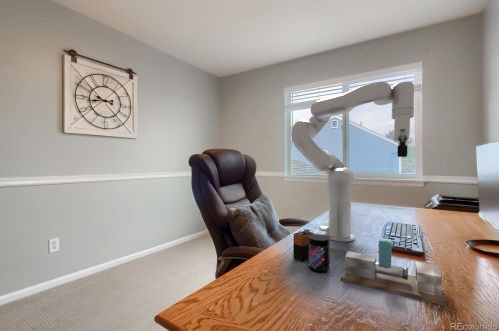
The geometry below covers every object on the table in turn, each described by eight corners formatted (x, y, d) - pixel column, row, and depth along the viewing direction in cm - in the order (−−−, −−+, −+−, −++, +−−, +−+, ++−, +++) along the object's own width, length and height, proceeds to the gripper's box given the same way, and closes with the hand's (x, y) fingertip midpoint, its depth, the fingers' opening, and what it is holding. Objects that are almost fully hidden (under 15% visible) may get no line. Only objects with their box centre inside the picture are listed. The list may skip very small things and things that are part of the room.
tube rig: (340, 280, 71) (340, 259, 71) (347, 265, 81) (348, 247, 81) (445, 305, 59) (445, 280, 59) (438, 284, 69) (438, 263, 69)
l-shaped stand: (347, 268, 74) (347, 236, 74) (348, 265, 77) (349, 233, 77) (407, 281, 66) (408, 245, 66) (407, 277, 69) (407, 241, 69)
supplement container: (304, 265, 81) (304, 234, 81) (323, 264, 82) (323, 233, 82) (313, 275, 74) (313, 241, 74) (333, 273, 76) (334, 239, 75)
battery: (314, 258, 87) (314, 230, 87) (302, 263, 83) (302, 233, 83) (305, 254, 91) (305, 227, 91) (292, 258, 87) (292, 231, 87)
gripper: (392, 118, 108) (391, 157, 108) (391, 111, 93) (390, 156, 93) (412, 116, 104) (412, 157, 104) (415, 109, 89) (414, 156, 89)
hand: (402, 156), depth 98 cm, fingers open, 9 cm apart
